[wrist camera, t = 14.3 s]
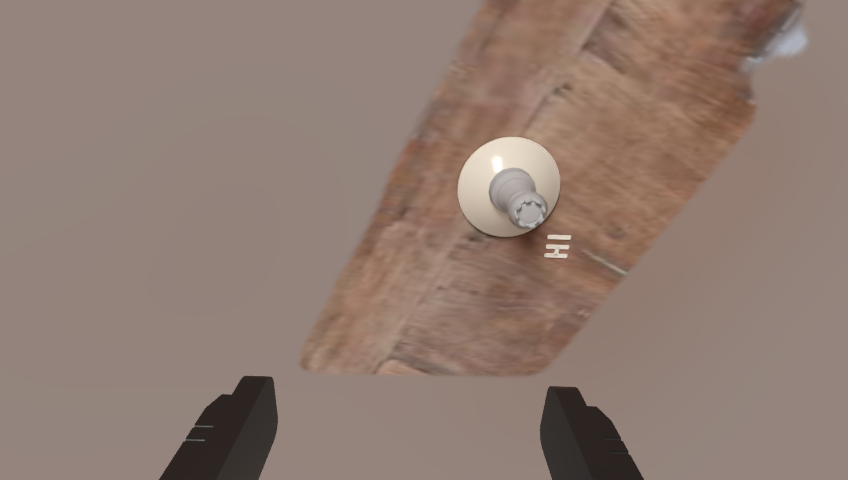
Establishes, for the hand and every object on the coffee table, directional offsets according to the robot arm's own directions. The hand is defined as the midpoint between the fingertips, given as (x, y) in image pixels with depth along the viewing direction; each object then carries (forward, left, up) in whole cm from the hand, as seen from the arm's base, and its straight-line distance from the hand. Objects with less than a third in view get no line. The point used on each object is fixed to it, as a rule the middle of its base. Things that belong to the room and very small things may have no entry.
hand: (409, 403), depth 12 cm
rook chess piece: (+1, +9, -30) cm, 31 cm away
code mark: (+7, +15, -30) cm, 34 cm away
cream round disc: (+1, +9, -30) cm, 31 cm away
